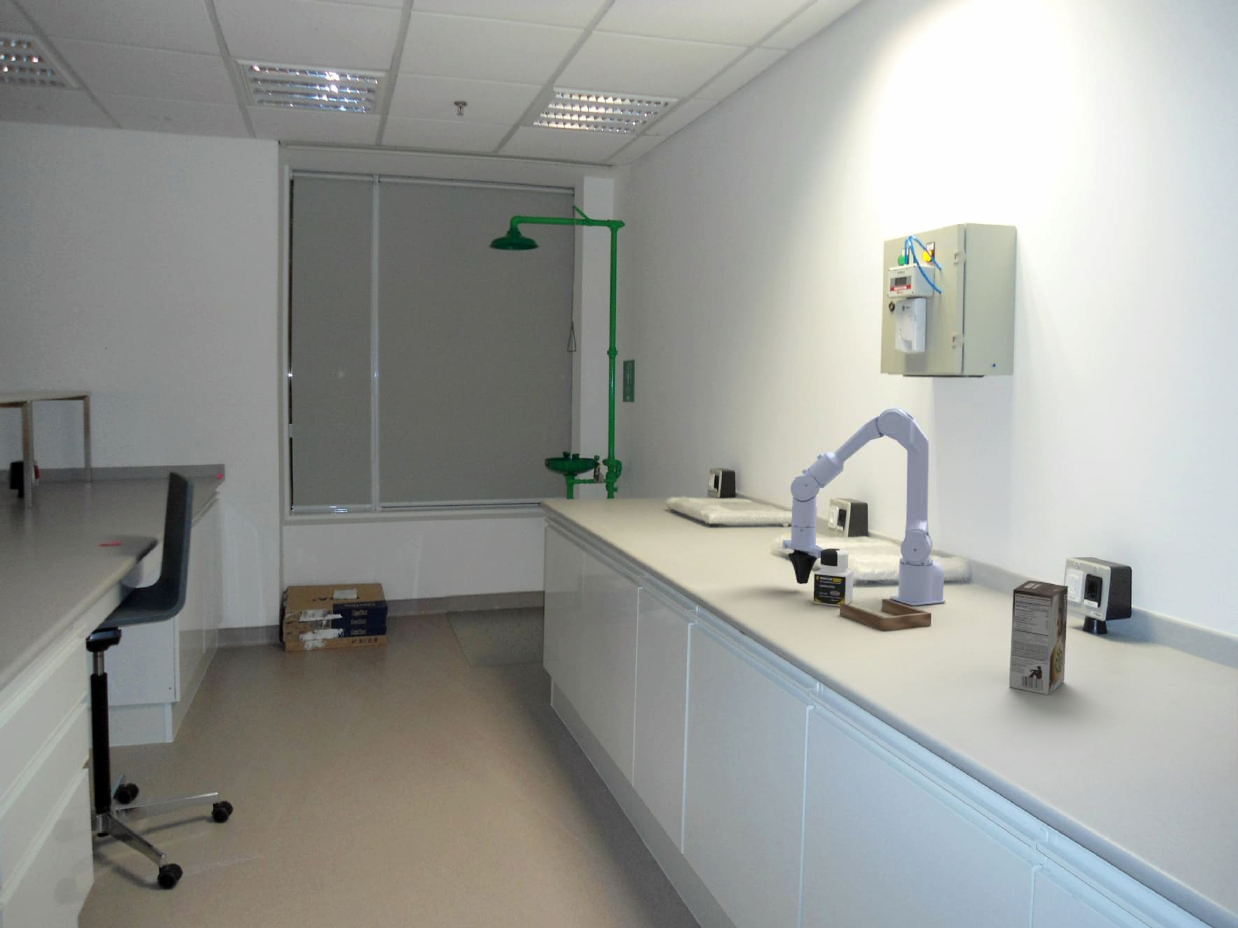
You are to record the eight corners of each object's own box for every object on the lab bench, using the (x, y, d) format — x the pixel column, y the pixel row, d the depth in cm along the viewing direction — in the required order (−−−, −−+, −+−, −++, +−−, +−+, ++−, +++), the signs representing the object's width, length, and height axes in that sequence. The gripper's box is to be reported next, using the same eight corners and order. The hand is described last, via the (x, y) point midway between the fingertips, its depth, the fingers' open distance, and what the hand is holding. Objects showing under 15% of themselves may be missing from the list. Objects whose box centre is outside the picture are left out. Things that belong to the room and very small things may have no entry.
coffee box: (1024, 674, 156) (1028, 579, 155) (1065, 681, 152) (1070, 584, 151) (1007, 687, 149) (1011, 588, 148) (1049, 695, 145) (1054, 594, 144)
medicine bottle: (813, 603, 207) (814, 550, 206) (821, 597, 213) (823, 545, 212) (844, 607, 204) (846, 553, 203) (852, 601, 210) (854, 548, 209)
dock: (885, 610, 201) (885, 598, 201) (930, 625, 188) (931, 613, 188) (839, 615, 196) (840, 603, 196) (883, 630, 184) (883, 618, 183)
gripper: (772, 522, 223) (771, 578, 224) (807, 531, 210) (806, 590, 211) (797, 521, 226) (795, 576, 227) (833, 529, 213) (831, 588, 214)
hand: (802, 583), depth 219 cm, fingers closed
